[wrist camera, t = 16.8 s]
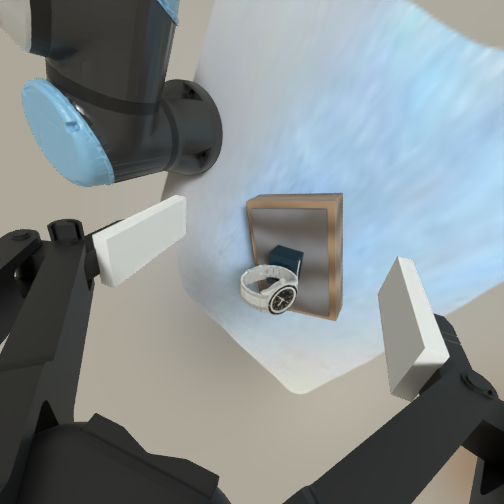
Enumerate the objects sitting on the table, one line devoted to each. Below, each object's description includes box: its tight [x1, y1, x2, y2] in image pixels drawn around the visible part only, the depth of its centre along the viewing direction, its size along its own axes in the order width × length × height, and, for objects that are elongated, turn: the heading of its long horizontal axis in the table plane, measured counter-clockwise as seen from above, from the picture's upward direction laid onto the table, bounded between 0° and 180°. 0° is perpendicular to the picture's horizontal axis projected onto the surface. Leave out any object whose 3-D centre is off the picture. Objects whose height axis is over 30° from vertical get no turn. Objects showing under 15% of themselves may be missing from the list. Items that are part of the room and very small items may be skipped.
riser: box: [246, 193, 343, 321], centre depth 44 cm, size 20×14×5 cm
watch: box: [240, 245, 304, 315], centre depth 38 cm, size 6×8×11 cm
